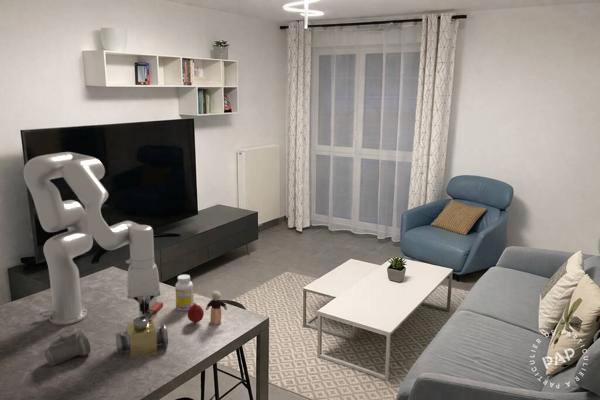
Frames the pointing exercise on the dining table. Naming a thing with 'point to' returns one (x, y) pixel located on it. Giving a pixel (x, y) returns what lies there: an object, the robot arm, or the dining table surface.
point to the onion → (195, 313)
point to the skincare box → (149, 306)
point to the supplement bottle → (184, 293)
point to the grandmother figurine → (216, 308)
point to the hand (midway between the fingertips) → (144, 312)
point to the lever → (147, 316)
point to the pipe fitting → (67, 346)
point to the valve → (141, 340)
